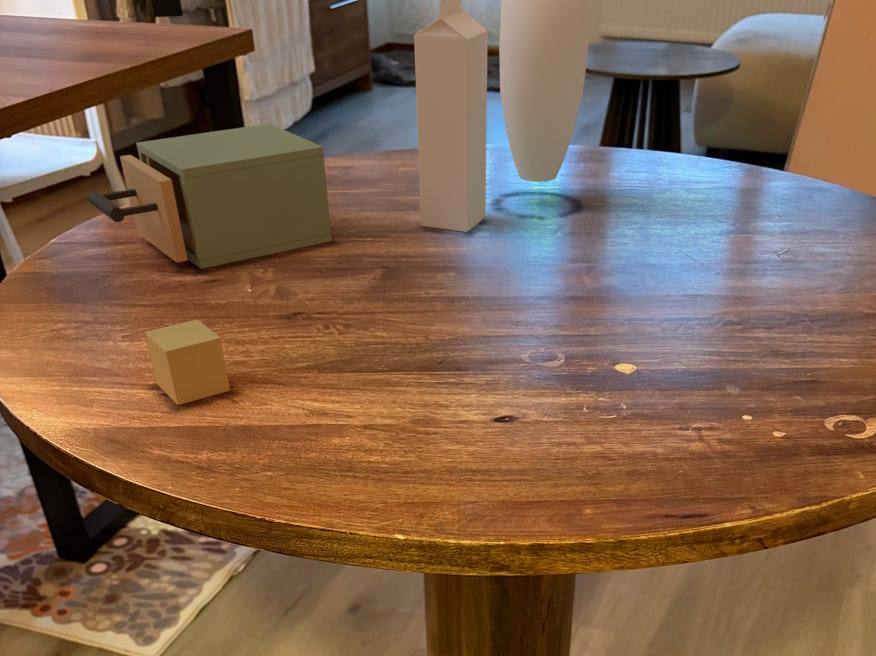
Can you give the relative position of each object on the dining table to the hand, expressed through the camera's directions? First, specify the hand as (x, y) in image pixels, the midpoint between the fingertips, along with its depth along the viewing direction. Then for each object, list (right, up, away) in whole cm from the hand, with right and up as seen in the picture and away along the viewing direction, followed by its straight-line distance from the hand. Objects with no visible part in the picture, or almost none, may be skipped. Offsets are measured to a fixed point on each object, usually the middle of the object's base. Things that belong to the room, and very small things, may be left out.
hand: (159, 7), depth 93 cm
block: (+9, -44, -18) cm, 48 cm away
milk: (+30, -15, +15) cm, 37 cm away
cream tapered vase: (+40, -10, +21) cm, 46 cm away
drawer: (+2, -21, +7) cm, 22 cm away
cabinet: (+6, -19, +10) cm, 23 cm away
